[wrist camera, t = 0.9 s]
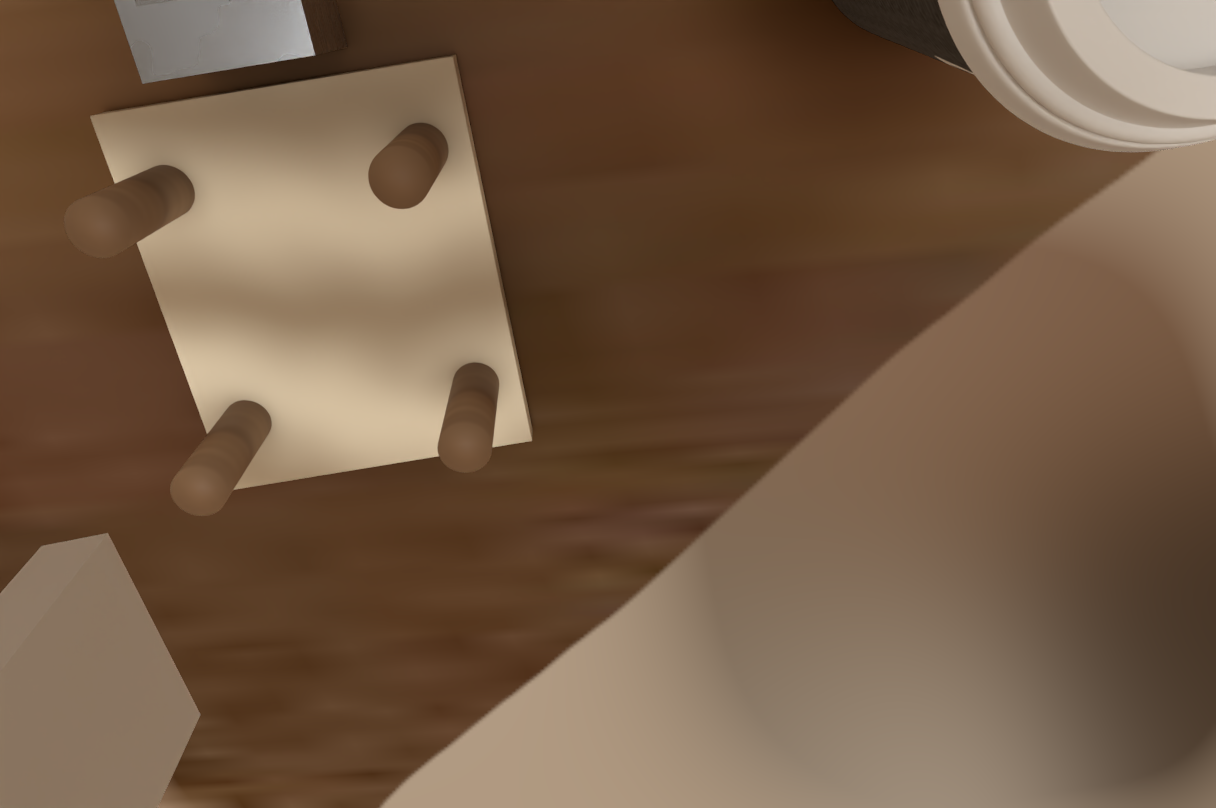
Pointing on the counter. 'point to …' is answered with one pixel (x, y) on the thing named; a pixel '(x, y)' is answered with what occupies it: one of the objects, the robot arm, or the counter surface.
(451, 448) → the rack
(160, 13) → the grey metal bar
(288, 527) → the counter surface
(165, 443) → the counter surface
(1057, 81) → the coffee cup
